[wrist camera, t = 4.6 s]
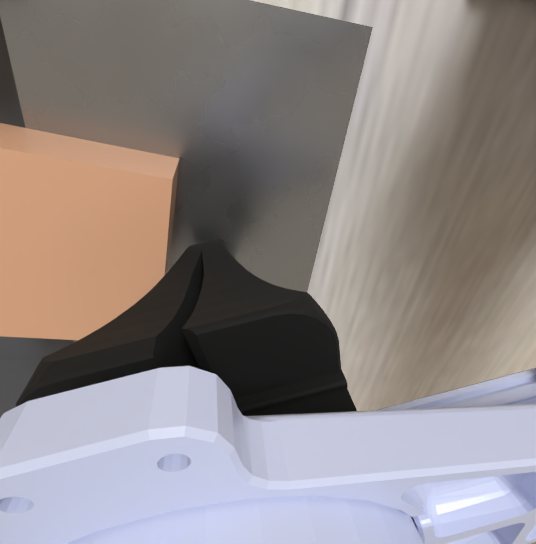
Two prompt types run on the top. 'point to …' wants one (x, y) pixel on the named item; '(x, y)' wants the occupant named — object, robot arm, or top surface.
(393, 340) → the top surface
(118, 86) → the grey flat board
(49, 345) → the box
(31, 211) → the tile
